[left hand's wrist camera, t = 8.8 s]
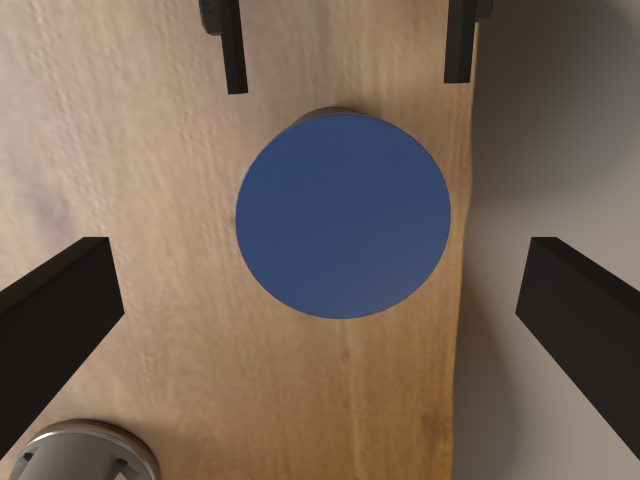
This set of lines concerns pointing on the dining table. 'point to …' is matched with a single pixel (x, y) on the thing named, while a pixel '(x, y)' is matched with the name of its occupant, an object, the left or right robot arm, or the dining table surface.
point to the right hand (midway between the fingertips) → (347, 89)
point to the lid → (342, 216)
